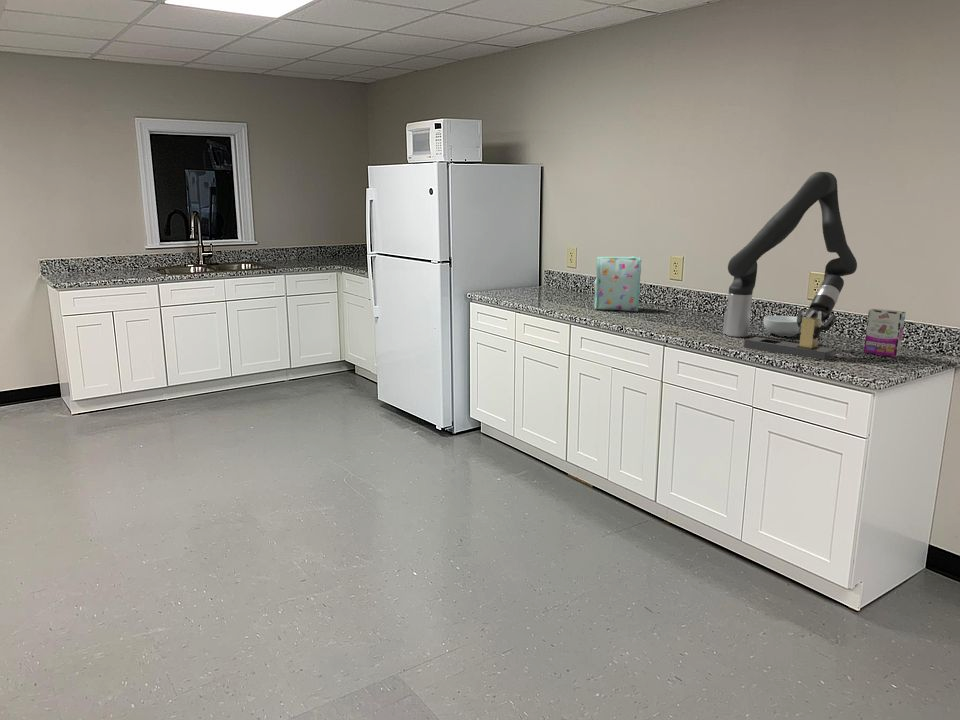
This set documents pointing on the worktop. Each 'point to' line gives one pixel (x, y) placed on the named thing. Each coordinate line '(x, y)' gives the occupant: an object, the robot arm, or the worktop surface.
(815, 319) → the brass peg
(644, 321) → the worktop surface
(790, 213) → the robot arm
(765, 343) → the grey peg board
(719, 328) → the worktop surface
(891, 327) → the candy bar box
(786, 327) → the cereal bowl
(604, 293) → the lunch bag
